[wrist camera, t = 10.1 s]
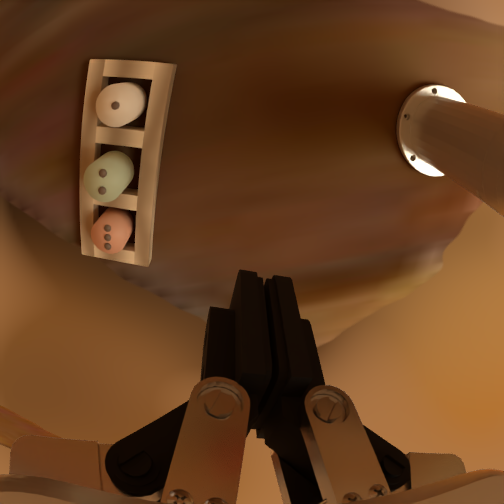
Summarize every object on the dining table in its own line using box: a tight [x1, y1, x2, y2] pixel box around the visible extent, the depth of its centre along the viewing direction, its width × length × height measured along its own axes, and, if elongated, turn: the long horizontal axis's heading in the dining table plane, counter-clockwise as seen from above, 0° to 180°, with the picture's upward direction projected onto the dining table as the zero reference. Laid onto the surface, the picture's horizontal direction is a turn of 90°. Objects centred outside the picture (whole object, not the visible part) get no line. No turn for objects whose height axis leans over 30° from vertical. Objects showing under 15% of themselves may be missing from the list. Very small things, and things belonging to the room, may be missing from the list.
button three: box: [91, 207, 135, 254], centre depth 38 cm, size 5×5×4 cm
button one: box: [96, 82, 147, 127], centre depth 30 cm, size 5×5×4 cm
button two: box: [84, 151, 134, 202], centre depth 33 cm, size 5×5×4 cm
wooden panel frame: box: [80, 59, 177, 267], centre depth 35 cm, size 10×26×2 cm, turn 167°
